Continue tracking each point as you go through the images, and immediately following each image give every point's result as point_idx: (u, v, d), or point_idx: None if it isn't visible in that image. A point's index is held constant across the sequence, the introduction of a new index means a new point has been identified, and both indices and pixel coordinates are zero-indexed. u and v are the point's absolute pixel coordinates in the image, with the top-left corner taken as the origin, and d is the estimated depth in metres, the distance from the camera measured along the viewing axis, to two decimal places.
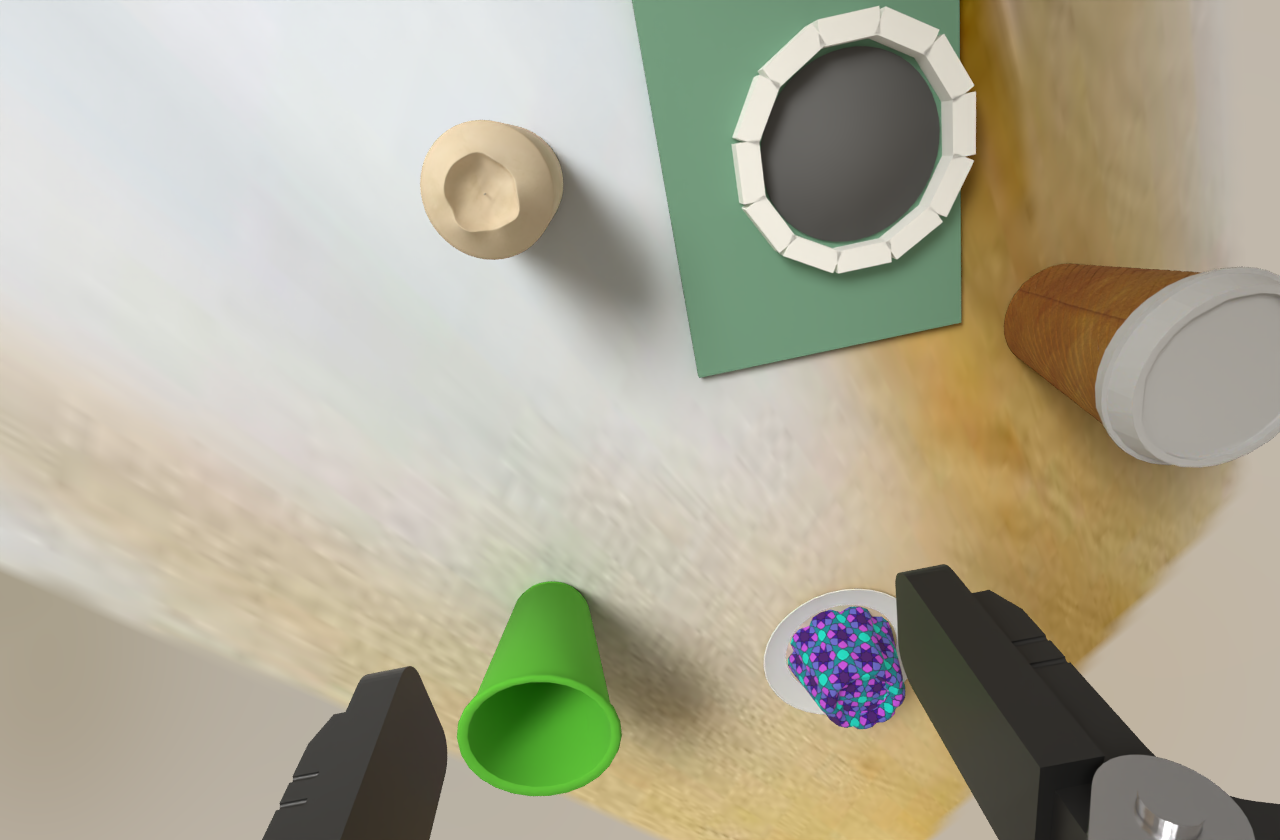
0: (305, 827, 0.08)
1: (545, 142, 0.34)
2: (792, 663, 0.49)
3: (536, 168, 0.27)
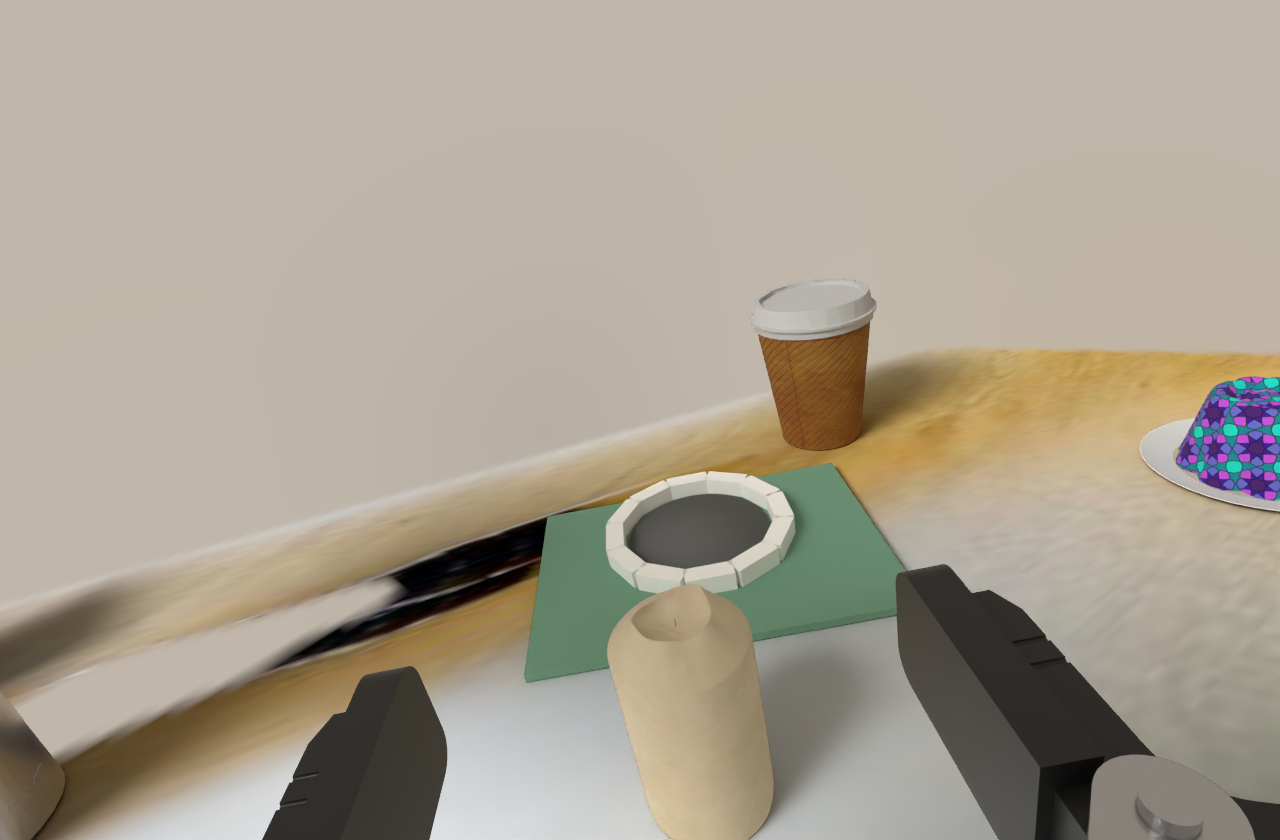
0: (306, 827, 0.08)
1: None
2: None
3: (658, 593, 0.27)
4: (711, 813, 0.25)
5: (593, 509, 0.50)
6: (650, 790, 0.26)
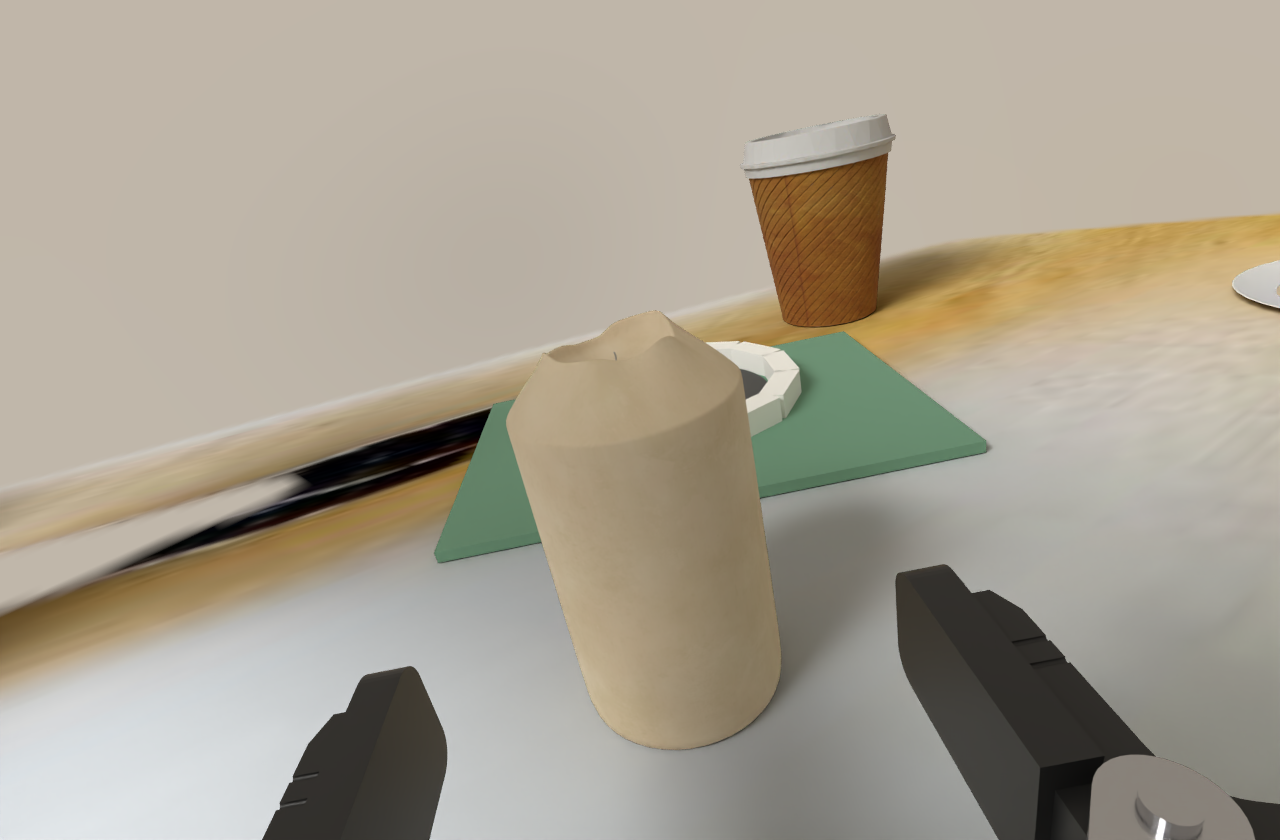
0: (305, 827, 0.08)
1: None
2: None
3: None
4: (679, 677, 0.15)
5: None
6: (583, 651, 0.16)
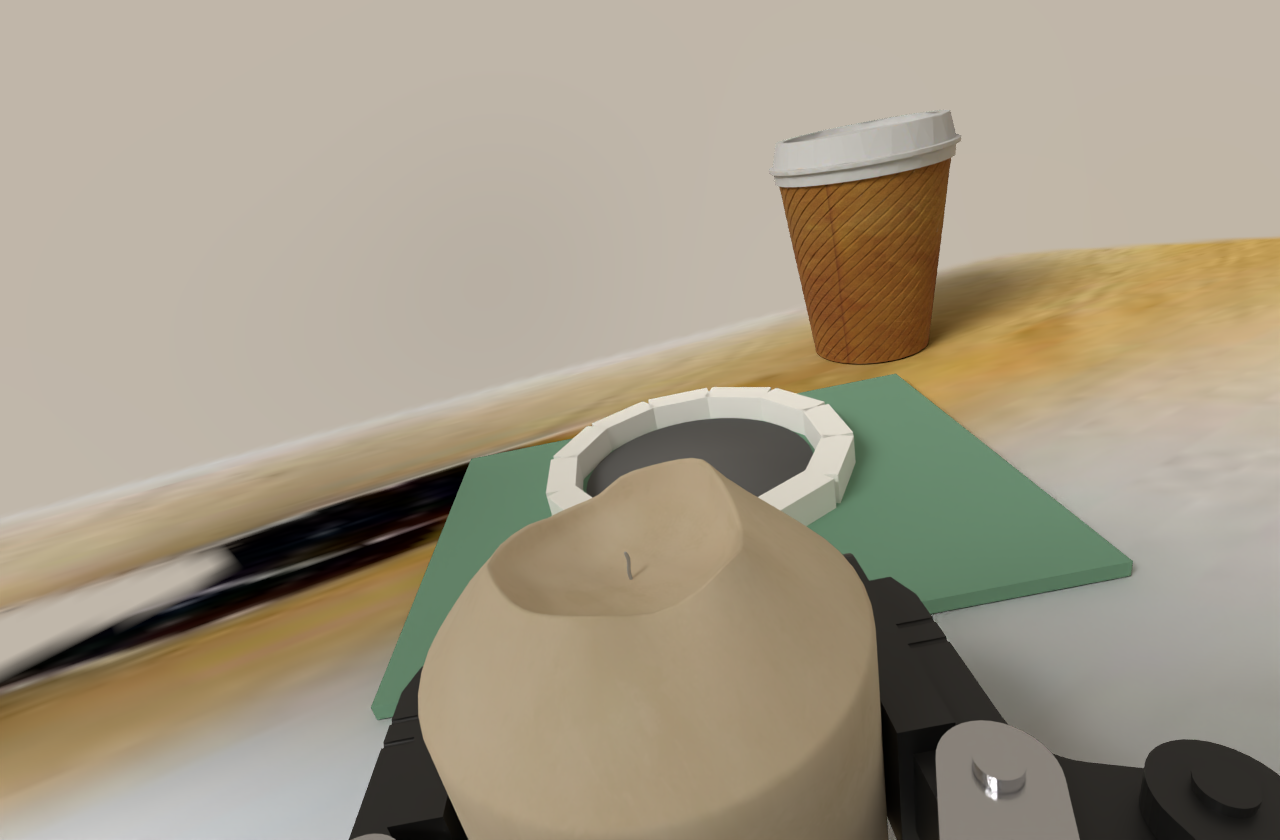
0: (419, 758, 0.09)
1: None
2: None
3: None
4: None
5: (539, 446, 0.33)
6: None
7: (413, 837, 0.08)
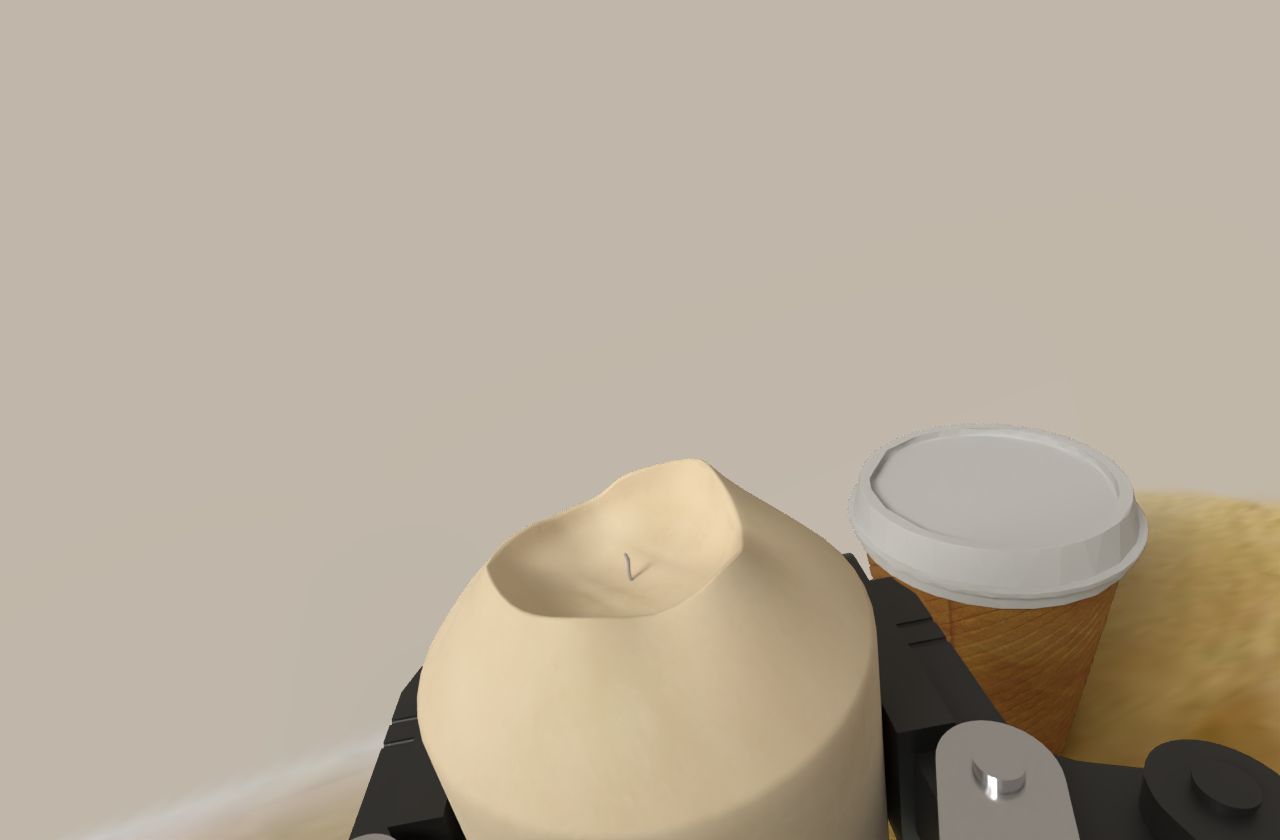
0: (418, 758, 0.09)
1: None
2: None
3: None
4: None
5: None
6: None
7: (413, 837, 0.08)
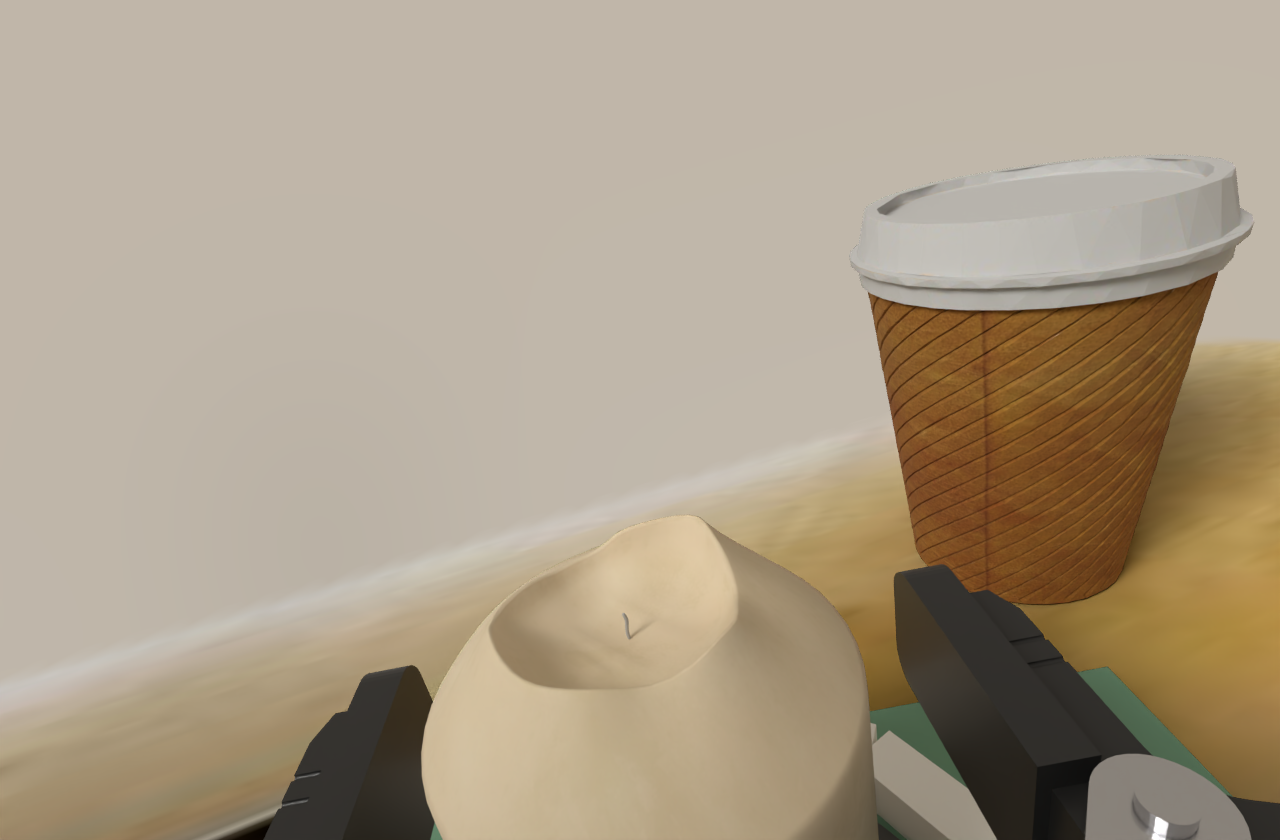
0: (308, 826, 0.08)
1: None
2: None
3: None
4: None
5: None
6: None
7: None
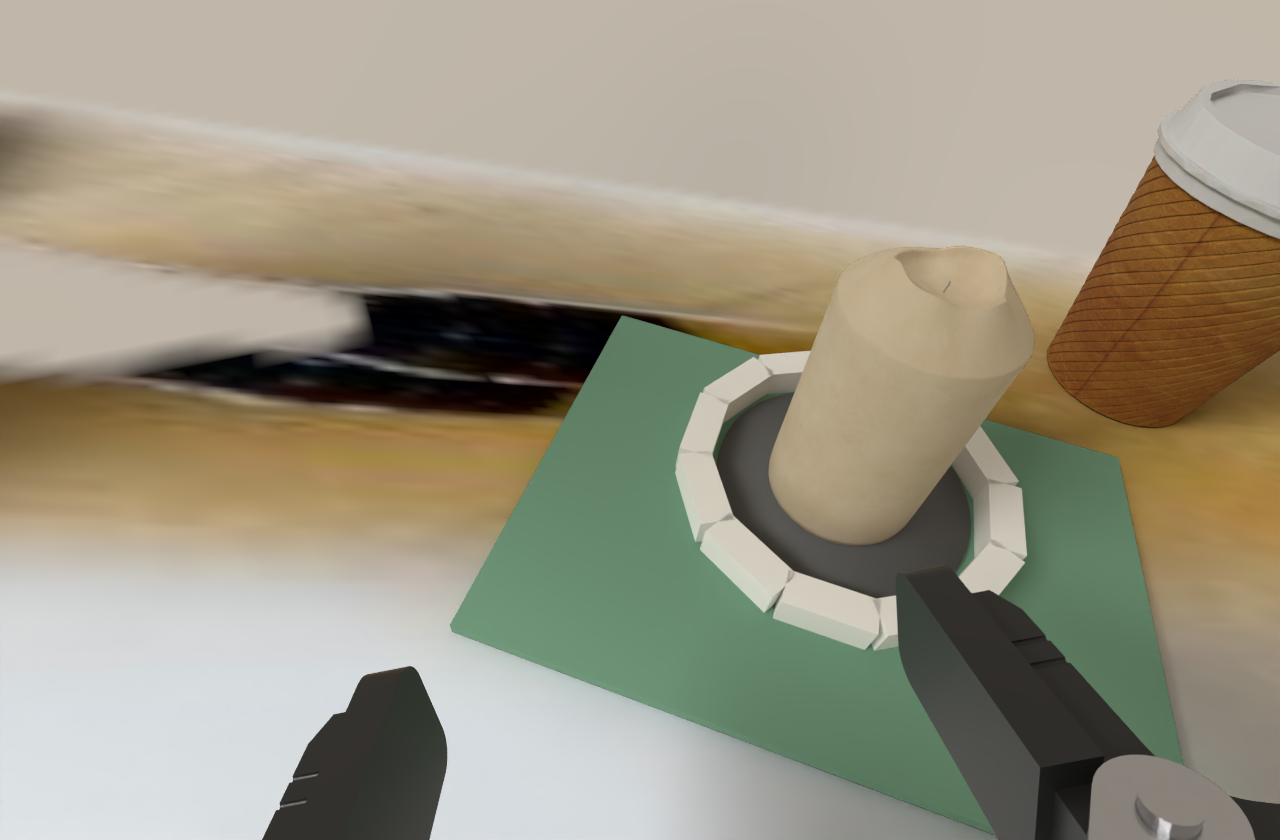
0: (305, 827, 0.08)
1: None
2: None
3: None
4: (850, 505, 0.21)
5: (694, 339, 0.30)
6: (792, 453, 0.22)
7: None
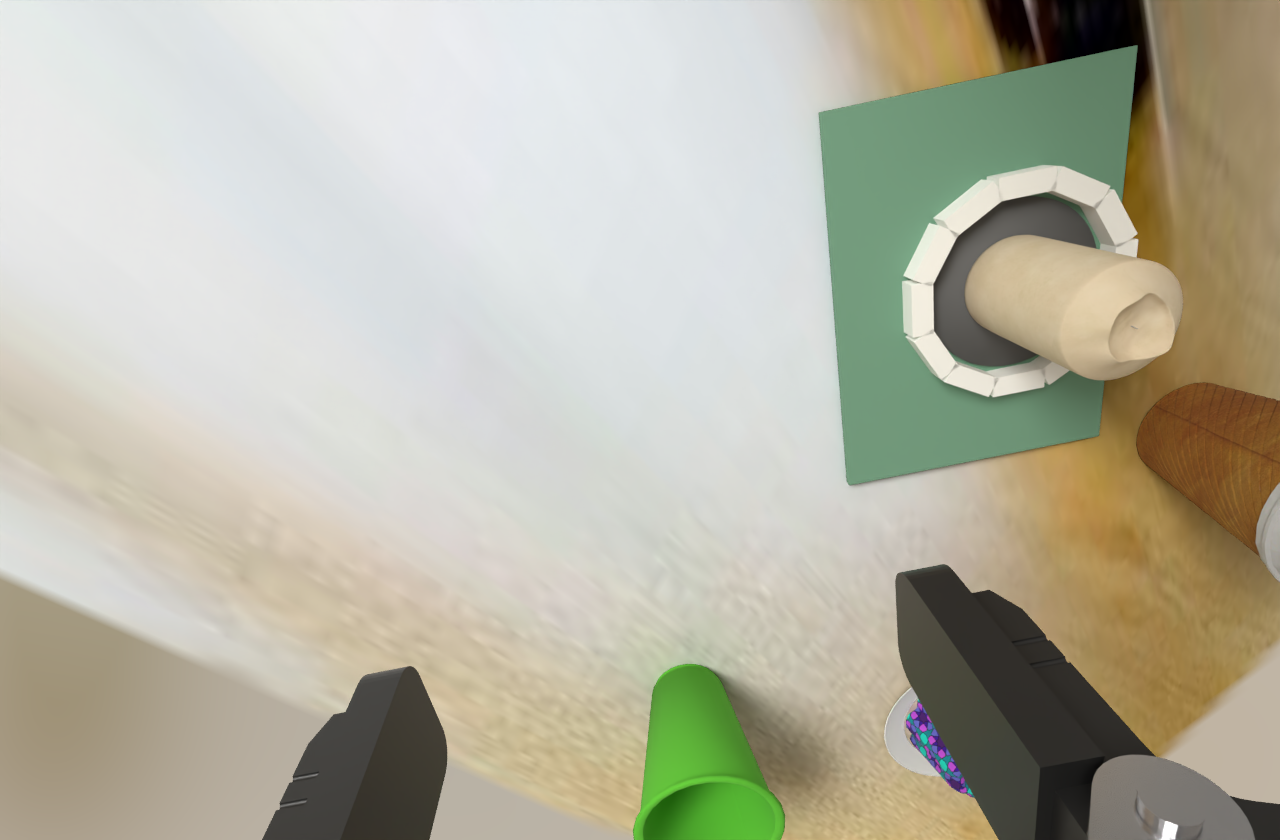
0: (305, 827, 0.08)
1: None
2: (914, 719, 0.50)
3: (1181, 303, 0.28)
4: (985, 302, 0.35)
5: (1125, 123, 0.34)
6: (1011, 257, 0.34)
7: None
